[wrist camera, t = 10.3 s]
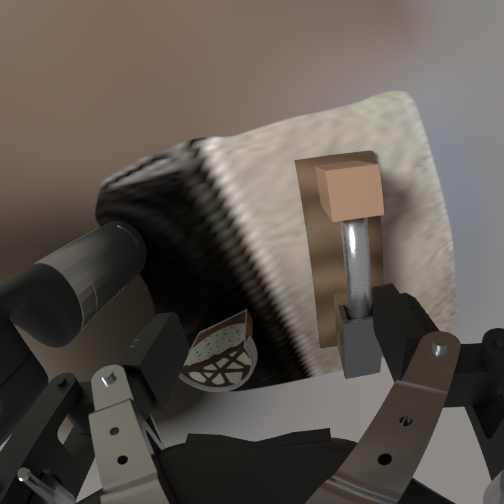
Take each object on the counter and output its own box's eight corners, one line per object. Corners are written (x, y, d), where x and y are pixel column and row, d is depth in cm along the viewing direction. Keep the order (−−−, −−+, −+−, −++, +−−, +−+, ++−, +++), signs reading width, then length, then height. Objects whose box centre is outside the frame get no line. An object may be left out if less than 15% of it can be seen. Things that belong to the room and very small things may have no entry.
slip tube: (368, 318, 36) (373, 331, 33) (346, 322, 36) (350, 336, 33) (360, 186, 30) (367, 190, 27) (334, 190, 31) (339, 194, 28)
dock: (379, 333, 43) (389, 354, 38) (319, 343, 45) (323, 366, 39) (369, 150, 34) (383, 151, 29) (294, 160, 36) (296, 162, 30)
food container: (214, 361, 48) (201, 403, 39) (192, 335, 46) (173, 375, 37) (276, 333, 45) (274, 377, 35) (255, 304, 43) (248, 345, 34)
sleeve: (373, 353, 38) (380, 372, 34) (340, 359, 38) (345, 378, 35) (374, 299, 35) (383, 316, 31) (338, 305, 36) (343, 323, 32)
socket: (361, 199, 35) (384, 214, 27) (320, 205, 36) (332, 222, 28) (356, 160, 34) (379, 164, 25) (314, 166, 35) (325, 171, 26)
